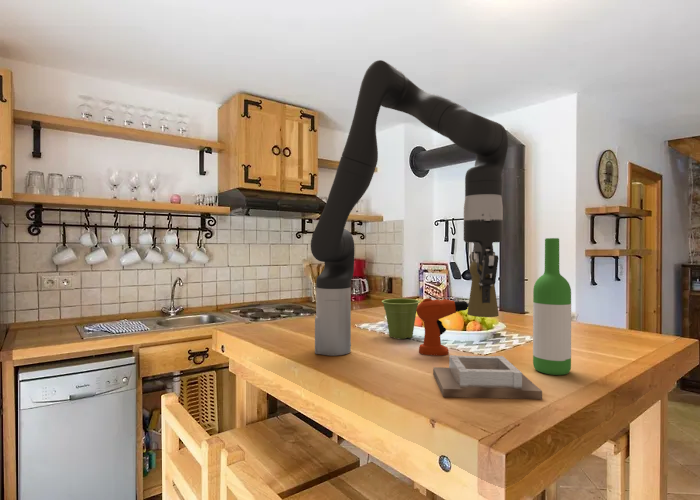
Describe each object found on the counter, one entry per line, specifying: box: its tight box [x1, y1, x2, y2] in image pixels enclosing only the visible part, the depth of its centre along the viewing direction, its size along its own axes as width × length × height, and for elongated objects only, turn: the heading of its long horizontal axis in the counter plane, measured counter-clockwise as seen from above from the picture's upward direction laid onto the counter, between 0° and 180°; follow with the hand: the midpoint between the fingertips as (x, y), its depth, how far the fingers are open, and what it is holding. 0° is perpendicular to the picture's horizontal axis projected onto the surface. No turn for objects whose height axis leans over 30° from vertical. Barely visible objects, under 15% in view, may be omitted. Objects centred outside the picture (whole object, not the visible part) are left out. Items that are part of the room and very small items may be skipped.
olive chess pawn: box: [466, 261, 499, 318], centre depth 84 cm, size 6×6×11 cm
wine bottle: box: [532, 237, 572, 376], centre depth 94 cm, size 8×8×30 cm
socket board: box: [432, 366, 543, 400], centre depth 84 cm, size 18×14×2 cm
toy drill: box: [416, 297, 469, 356], centre depth 109 cm, size 5×19×15 cm, turn 82°
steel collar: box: [448, 354, 523, 389], centre depth 84 cm, size 11×12×3 cm
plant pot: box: [381, 298, 421, 340], centre depth 130 cm, size 12×12×11 cm
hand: (482, 303), depth 84 cm, fingers closed on olive chess pawn, 3 cm apart
